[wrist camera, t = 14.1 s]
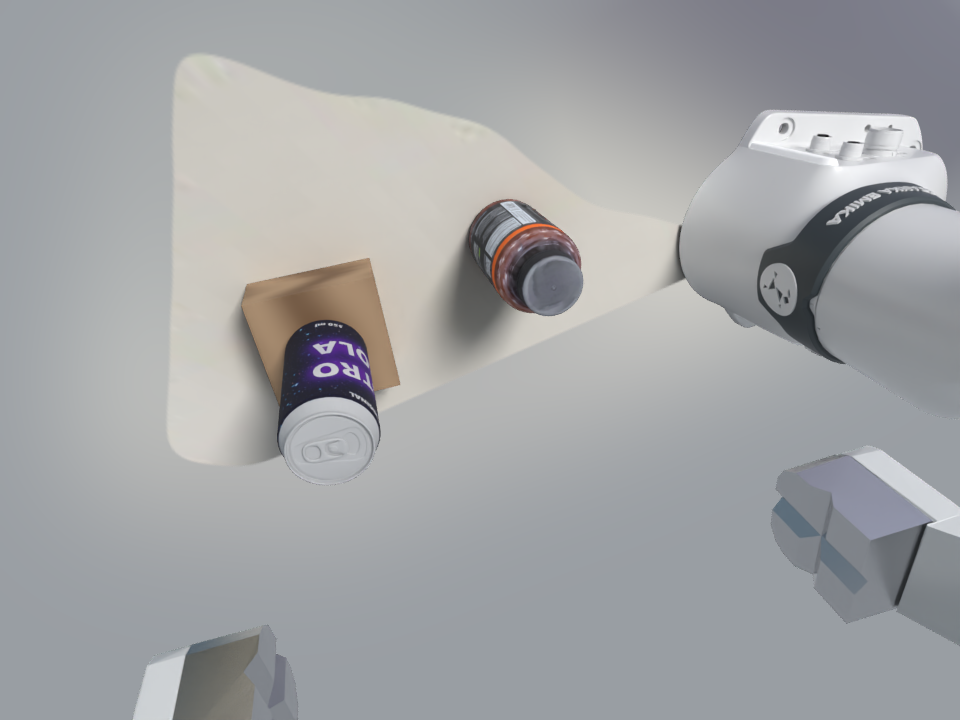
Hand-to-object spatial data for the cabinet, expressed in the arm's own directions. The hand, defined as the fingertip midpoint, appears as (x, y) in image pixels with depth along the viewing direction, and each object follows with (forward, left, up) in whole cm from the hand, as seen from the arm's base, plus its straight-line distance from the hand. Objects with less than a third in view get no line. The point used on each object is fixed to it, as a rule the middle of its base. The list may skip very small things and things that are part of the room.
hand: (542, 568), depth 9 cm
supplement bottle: (-9, +8, -37) cm, 39 cm away
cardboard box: (+6, +12, -37) cm, 39 cm away
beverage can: (+6, +12, -33) cm, 36 cm away
